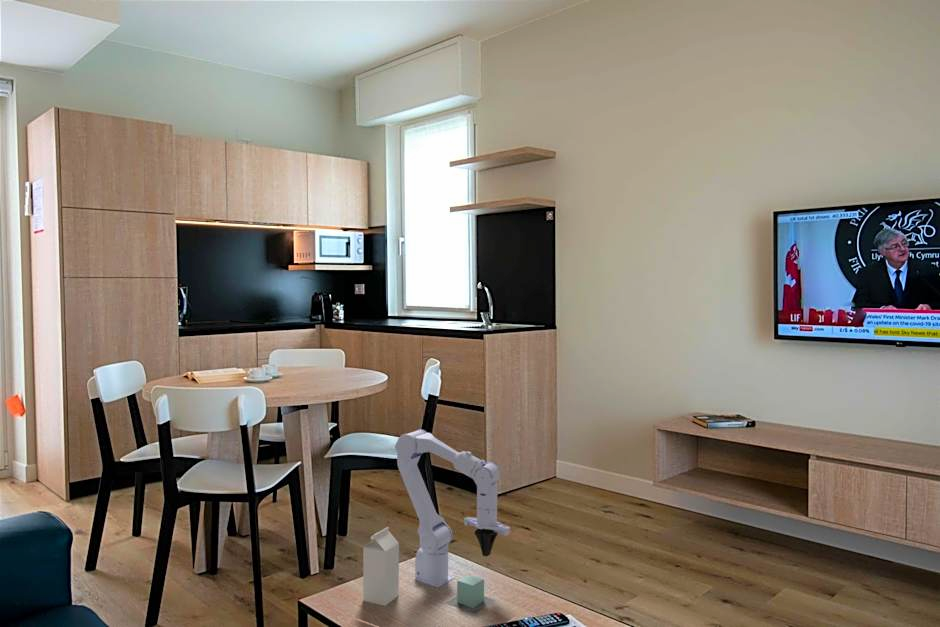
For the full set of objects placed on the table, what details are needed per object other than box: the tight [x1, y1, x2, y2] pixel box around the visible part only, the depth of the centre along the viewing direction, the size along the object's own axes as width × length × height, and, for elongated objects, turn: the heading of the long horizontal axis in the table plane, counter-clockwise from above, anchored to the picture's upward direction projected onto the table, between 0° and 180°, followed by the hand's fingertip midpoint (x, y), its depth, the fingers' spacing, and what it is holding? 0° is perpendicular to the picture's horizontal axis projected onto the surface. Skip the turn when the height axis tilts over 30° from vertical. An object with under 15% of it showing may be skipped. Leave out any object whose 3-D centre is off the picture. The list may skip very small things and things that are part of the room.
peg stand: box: [445, 595, 497, 614], centre depth 185 cm, size 10×10×5 cm
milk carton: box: [362, 526, 400, 606], centre depth 186 cm, size 7×7×19 cm
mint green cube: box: [456, 574, 485, 608], centre depth 185 cm, size 5×5×6 cm
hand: (486, 555), depth 192 cm, fingers closed
